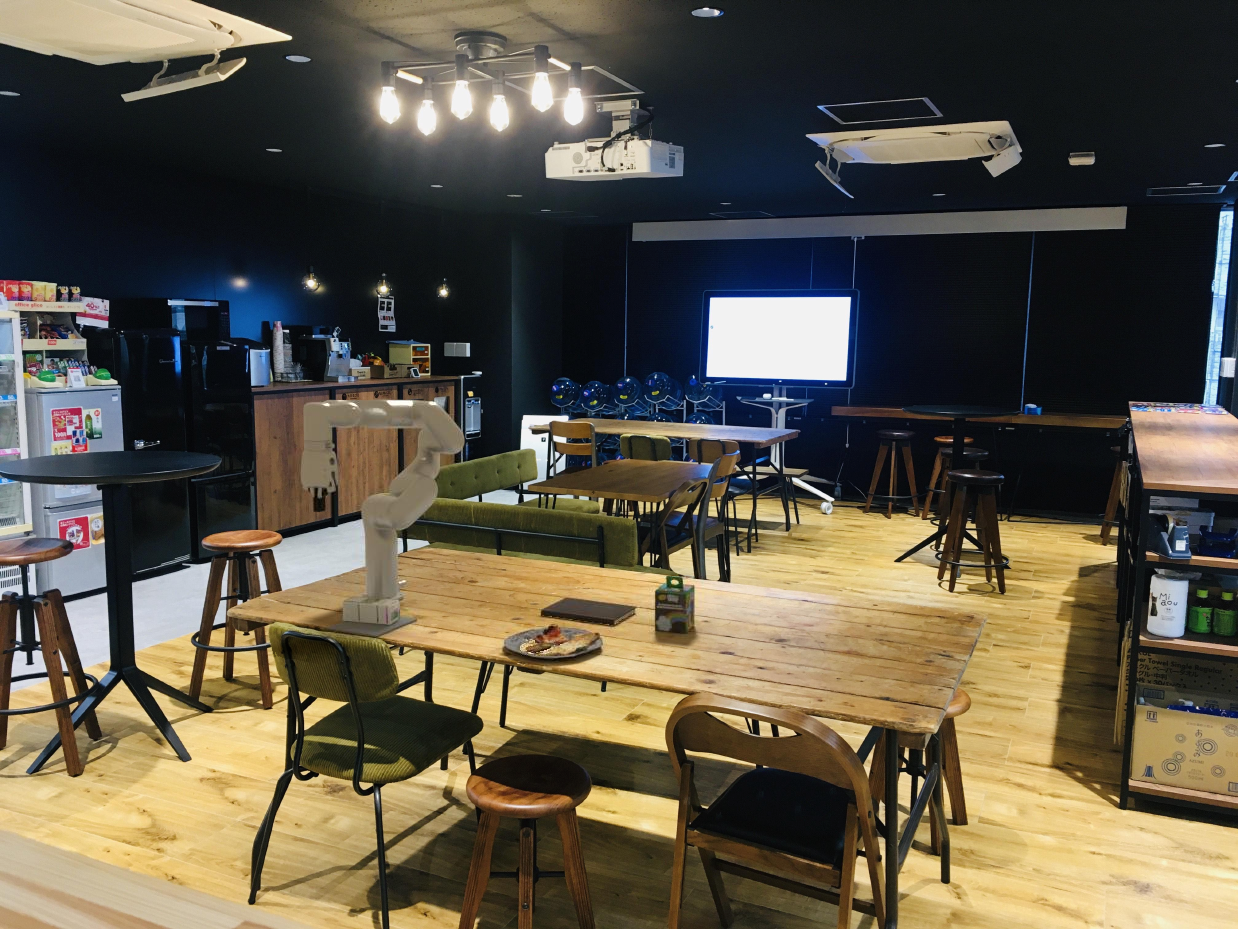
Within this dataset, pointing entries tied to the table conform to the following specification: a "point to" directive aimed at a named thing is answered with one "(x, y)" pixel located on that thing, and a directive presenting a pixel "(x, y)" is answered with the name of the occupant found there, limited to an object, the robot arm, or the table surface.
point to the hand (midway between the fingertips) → (319, 511)
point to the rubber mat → (371, 627)
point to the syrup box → (371, 610)
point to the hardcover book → (588, 611)
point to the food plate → (555, 641)
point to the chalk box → (674, 606)
